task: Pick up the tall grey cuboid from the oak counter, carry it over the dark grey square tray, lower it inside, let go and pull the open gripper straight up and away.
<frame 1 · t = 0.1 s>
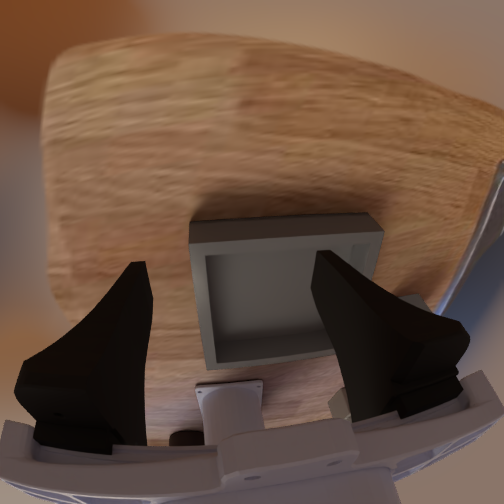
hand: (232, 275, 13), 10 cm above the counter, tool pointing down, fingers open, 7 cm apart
tall grey cuboid: (397, 307, 32), on the counter
bottle: (190, 436, 44), on the counter
lighter: (343, 389, 41), on the counter
dark grey square tray: (279, 287, 27), on the counter
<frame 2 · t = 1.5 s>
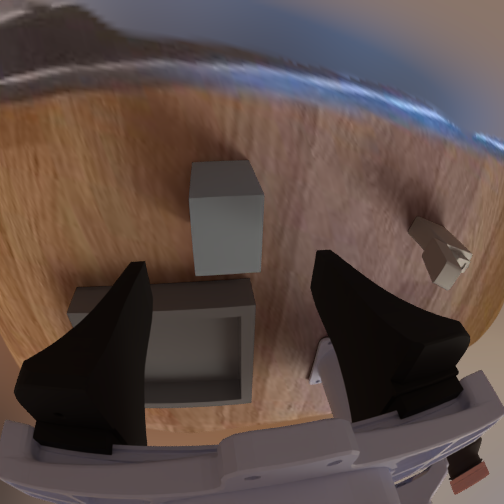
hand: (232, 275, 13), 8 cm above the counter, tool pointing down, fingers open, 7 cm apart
tall grey cuboid: (221, 193, 20), on the counter
bottle: (415, 367, 38), on the counter
lighter: (415, 225, 24), on the counter
dark grey square tray: (171, 343, 27), on the counter
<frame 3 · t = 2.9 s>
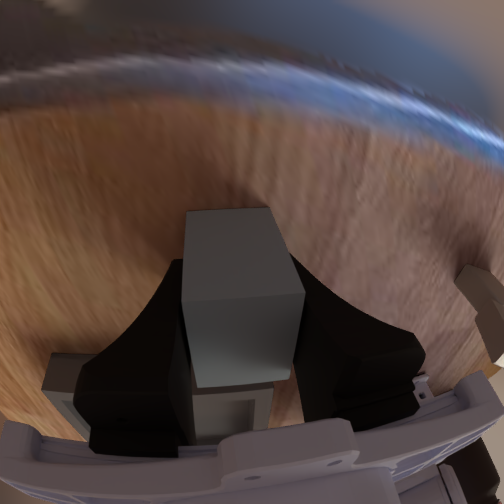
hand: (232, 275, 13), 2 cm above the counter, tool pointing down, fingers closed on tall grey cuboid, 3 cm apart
tall grey cuboid: (229, 253, 14), on the counter, touching gripper
bottle: (435, 404, 33), on the counter
lighter: (462, 273, 18), on the counter
dark grey square tray: (169, 408, 22), on the counter
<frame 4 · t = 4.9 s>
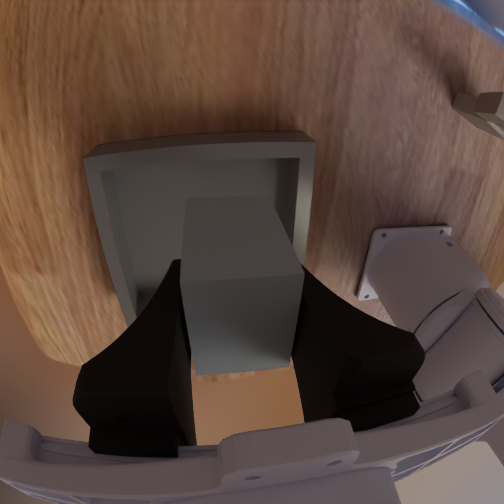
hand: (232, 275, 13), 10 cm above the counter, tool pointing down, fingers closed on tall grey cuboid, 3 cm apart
tall grey cuboid: (228, 241, 14), point 8 cm above the counter, touching gripper
lighter: (457, 101, 20), on the counter
dark grey square tray: (203, 226, 23), on the counter
when the fingers open (4 cm above the counter, at t = 7.3 s): tall grey cuboid drops 1 cm, resting on dark grey square tray.
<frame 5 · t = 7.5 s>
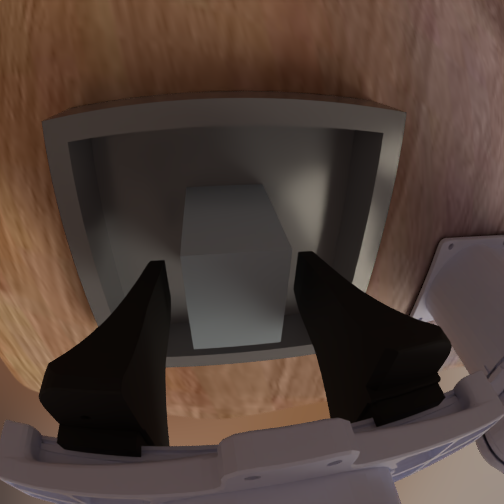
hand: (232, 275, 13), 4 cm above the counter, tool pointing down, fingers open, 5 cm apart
tall grey cuboid: (225, 228, 16), resting on dark grey square tray
dark grey square tray: (225, 231, 16), on the counter
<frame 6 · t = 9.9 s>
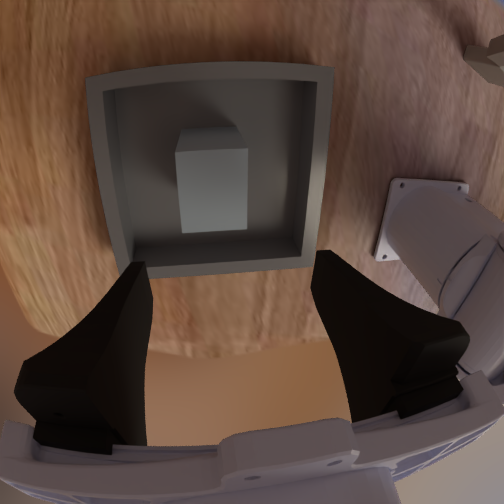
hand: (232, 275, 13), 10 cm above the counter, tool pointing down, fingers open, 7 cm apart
tall grey cuboid: (210, 160, 20), resting on dark grey square tray
lighter: (467, 54, 18), on the counter
dark grey square tray: (210, 164, 21), on the counter
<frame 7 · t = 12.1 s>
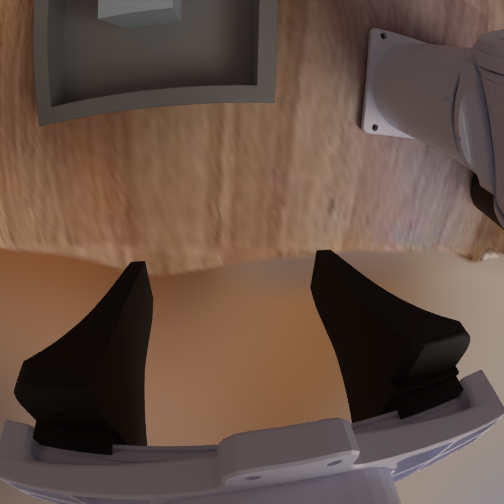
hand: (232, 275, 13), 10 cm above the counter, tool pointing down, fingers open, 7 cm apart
bottle: (489, 180, 25), on the counter
dark grey square tray: (154, 0, 14), on the counter
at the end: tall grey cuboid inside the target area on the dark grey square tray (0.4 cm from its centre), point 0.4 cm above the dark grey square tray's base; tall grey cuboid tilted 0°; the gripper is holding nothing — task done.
